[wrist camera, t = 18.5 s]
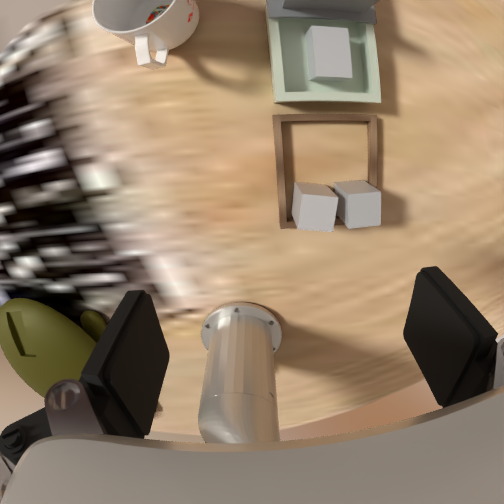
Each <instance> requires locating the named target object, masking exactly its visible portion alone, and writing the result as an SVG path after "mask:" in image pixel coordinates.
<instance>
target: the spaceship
mask: <svg viewBox="0 0 504 504" xmlns="http://www.w3.org/2000/svg"><path fill="white" fill-rule="evenodd" d="M80 321H81V324H82V326H83V328H84V330H85V331H84V330H83V329H82V328H80V327H79V326H78V325H76V324H75V323H74V322H72V321H71V320H70V319H69V318H67V317H66V316H64V315H63V314H61V313H59V312H58V311H56V310H54V309H53V308H51V307H49V306H47V305H44V304H42V303H40V302H38V301H34V300H30V299H26V298H15V299H11V300H8V301H7V302H6V303H5V304H3V305H2V306H1V308H0V345H1V348H2V350H3V352H4V354H5V356H6V358H7V360H8V361H9V363H10V364H11V366H12V367H13V369H14V370H15V371H16V372H17V374H18V375H19V376H20V377H21V378H22V379H23V380H24V381H25V383H27V385H29V386H30V387H31V388H32V389H33V390H34V391H35V392H37V393H38V394H40V395H41V396H42V397H44V398H45V395H46V393H47V391H48V390H49V388H50V387H51V386H52V385H53V384H55V383H57V382H58V381H60V380H64V379H75V380H78V381H79V379H80V377H81V372H82V370H83V368H84V366H85V364H86V363H87V361H88V359H89V357H90V355H91V353H92V351H93V350H94V348H95V346H96V344H97V342H98V341H99V339H100V337H101V335H102V333H103V332H104V330H105V328H106V326H107V324H106V322H105V320H104V319H103V318H102V316H101V315H100V314H98V313H97V312H95V311H90V310H87V311H84V312H83V313H82V315H81V316H80ZM155 411H156V410H155Z"/></svg>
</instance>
